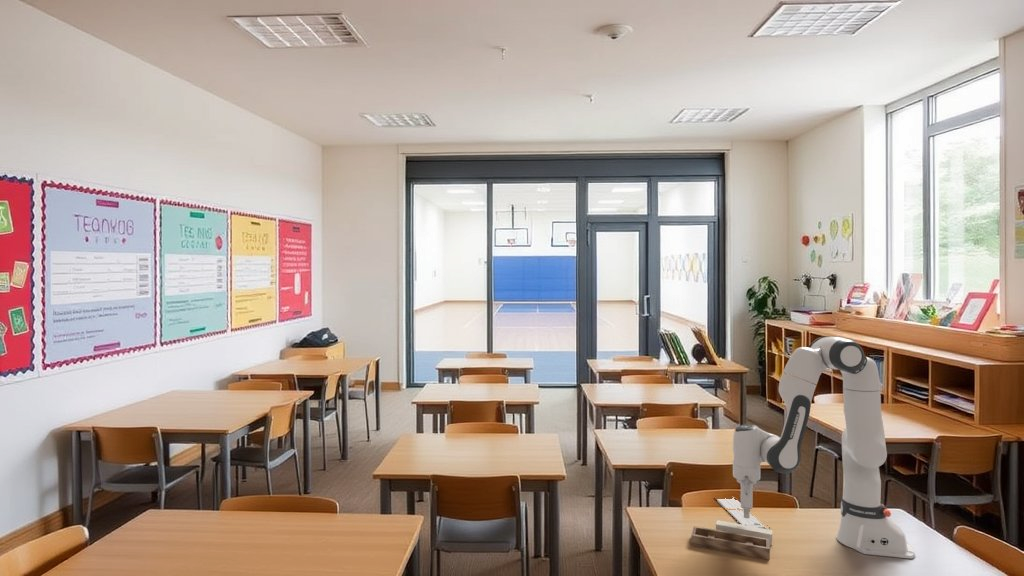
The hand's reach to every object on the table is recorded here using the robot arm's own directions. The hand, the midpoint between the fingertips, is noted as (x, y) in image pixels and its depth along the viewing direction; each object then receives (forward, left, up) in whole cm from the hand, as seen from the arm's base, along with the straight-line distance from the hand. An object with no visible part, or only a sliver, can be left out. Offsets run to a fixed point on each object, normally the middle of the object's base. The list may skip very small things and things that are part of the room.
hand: (746, 512), depth 203 cm
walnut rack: (+5, +10, -9) cm, 14 cm away
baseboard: (+2, -23, -10) cm, 26 cm away
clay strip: (+1, 0, -9) cm, 9 cm away
